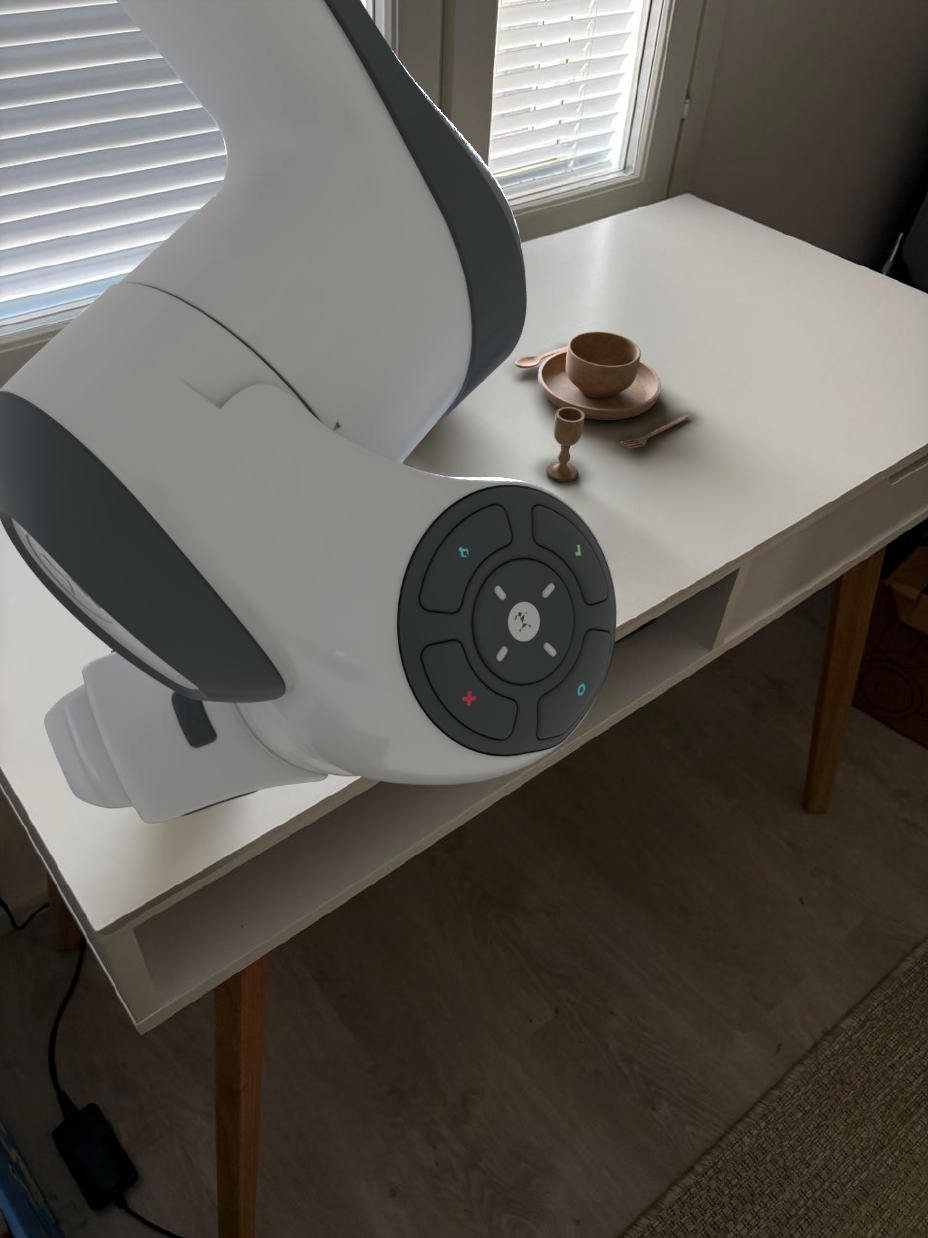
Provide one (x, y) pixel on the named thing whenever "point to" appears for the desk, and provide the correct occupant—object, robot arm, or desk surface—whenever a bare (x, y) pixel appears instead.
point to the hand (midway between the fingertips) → (246, 676)
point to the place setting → (594, 389)
